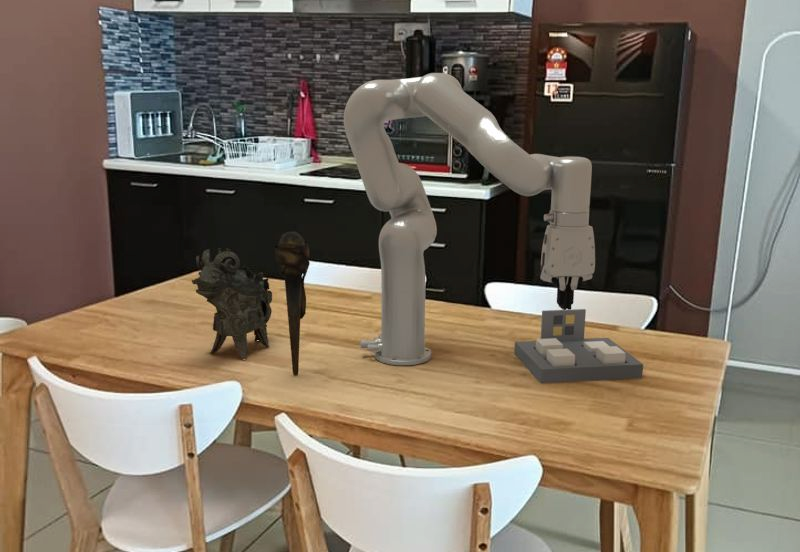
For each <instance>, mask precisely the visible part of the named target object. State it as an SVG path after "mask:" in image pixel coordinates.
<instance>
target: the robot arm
mask: <svg viewBox="0 0 800 552" xmlns="http://www.w3.org/2000/svg"><path fill="white" fill-rule="evenodd" d="M421 117H427V118H428V119H430V120H431V121H432V122H433V123H434V124H436V125H437V126H438V127H439V128H441V129H442V130H443V131H445V132H446V133H447V134H449V135H450V136H451V137H452V138H453V139H455V140H456V141H457V142H458V143H460V144H461V145H462V146H463V147H464V148H465V149H466V150H467V151H468V152H469V153H470V155H472V157H474V158H475V159H476V161H478V162H479V164H481V166H483V167H484V168H485V169H486V171H488V172H489V173H491V174H492V176H494V177H495V178H496V179H498V180H499V181H500V182H501V183H503V184H504V185H505V186H506V187H508V188H509V189H510V190H512V191H513V192H514V193H517V194H518V195H521V196H524V197H532V196H533V197H534V196H535V195H538V194H540V193H541V192H543V191H546V190H551V199H550V200H551V203H550V210H549V213H545V214H544V215H543V221H544V222H548V223H549V224H548V225H547V226H546V229H545V232H544V237H543V242H542V248H541V258H540V270H541V272H540V277H539V278H540V280H542V281H543V282H548V283H552V284H553V285H554V286H555V288H556V289H557V291H556V303H557V305H558V307H559V308H560V309H561V310H571V309H572V305H573V304H574V299H575V297H574V296H575V291H576V290H577V288H578V286H580V284H581V283H582V282H586V281H588V280H592V278H593V274H594V273H595V268H596V245H595V244H596V243H595V234H594V229H593V226H591V225H589V223H590V222H589V221H590V207H591V205H590V204H591V189H592V188H591V187H592V174H593V173H592V172H593V171H592V170H593V169H592V167H593V165H592V161H591V160H590V159H588V158H586V157H583V156H560V157H559V156H553V155H547V154H541V153H533V154H529V153H528V152H527V151H525V150H524V149H523V148H522V147H520V146H519V145H518V144H517V143H515V142H514V141H513V140H512V139H511V138H510V137H509V136H508V135H507V134H506V133H505V132H504V131H503V130H502V128H501V127H500V125H499V123H498V120H497V119H496V117H495V115H493V113H492V112H491V111H490V110H488V108H485V107H484V106H483V105H482V104H481V103H479V102H478V101H476V100H475V99H474V98H472V96H471V95H469V94H467V93H466V92H465V91H464V90H463V88H462V85H461V83H460V82H459V80H458V79H457V78H455V76H454V75H453V76H452V75H451V74H448V73H445V72H430V73H427V74H425V75H423V76H418V77H417V76H416V77H410V78H409V77H408V78H399V79H398V78H397V79H374V80H370V81H367V82H365V83H363V84H361V85H360V86H359V87H358V88H356V89H355V90H354V91H353V93H352V94H351V96H350V97H349V98H348V100H347V102H346V106H345V108H344V113H343V127H344V132H345V135H346V138H347V141H348V144H349V147H350V149H351V152H352V154H353V156H354V160H355V163H356V167H357V169H358V172H359V174H360V178H361V181H362V184H363V187H364V189H365V192H366V195H367V198H368V200H369V202H370V204H371V205H372V206H373V208H375V209H376V210H378V211H381V212H389V215H390V219H389V220H388V221H387V222H386V223H385V224H384V225H383V226H382V228H381V230H380V233H379V236H378V252H379V259H380V270H381V285H380V286H381V287H380V288H381V327H380V328H381V333H379V334H377V335H378V337H374V339H360V341H359V347H360V349H366V351H368V352H369V351H370V352H371V351H373V353H374V359H375V360H377V361H379V362H380V363H383V364H387V365H391V366H414V365H421V364H422V363H426V362H428V361H429V360H431V358H432V350H431V349H430V348H428V347H427V346H425V333H426V331H425V330H426V329H425V326H426V266H425V258H424V253H425V252H424V251H425V250H427V249H428V248H429V247H431V246H432V244H433V243H434V242H435V239H436V237H437V231H438V229H437V222H436V219H435V216H434V212H433V210H432V207H431V204H430V201H429V199H428V196H427V193H426V191H425V187H424V185H423V184H424V183H423V182H422V180H421V178H420V176H419V174H418V173H417V171H416V170H415V169H414V168H413V167H412V166H410V165H408V164H406V163H402V162H399V160H398V157H397V155H396V152H395V149H394V145H393V142H392V141H391V138H390V137H389V135H388V133H387V132H386V129H385V122H388V121H394V120H402V119H410V118H421ZM565 278H567V279H565Z"/></svg>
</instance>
